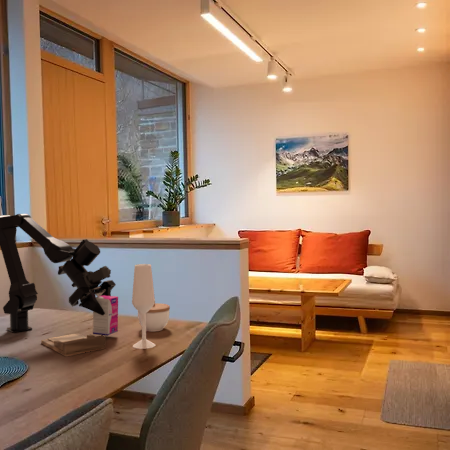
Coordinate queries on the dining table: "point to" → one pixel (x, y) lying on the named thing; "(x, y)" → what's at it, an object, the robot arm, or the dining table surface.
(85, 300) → the robot arm
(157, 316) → the lidded jar
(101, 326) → the supplement box
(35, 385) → the dining table surface
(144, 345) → the champagne flute
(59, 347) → the click board
